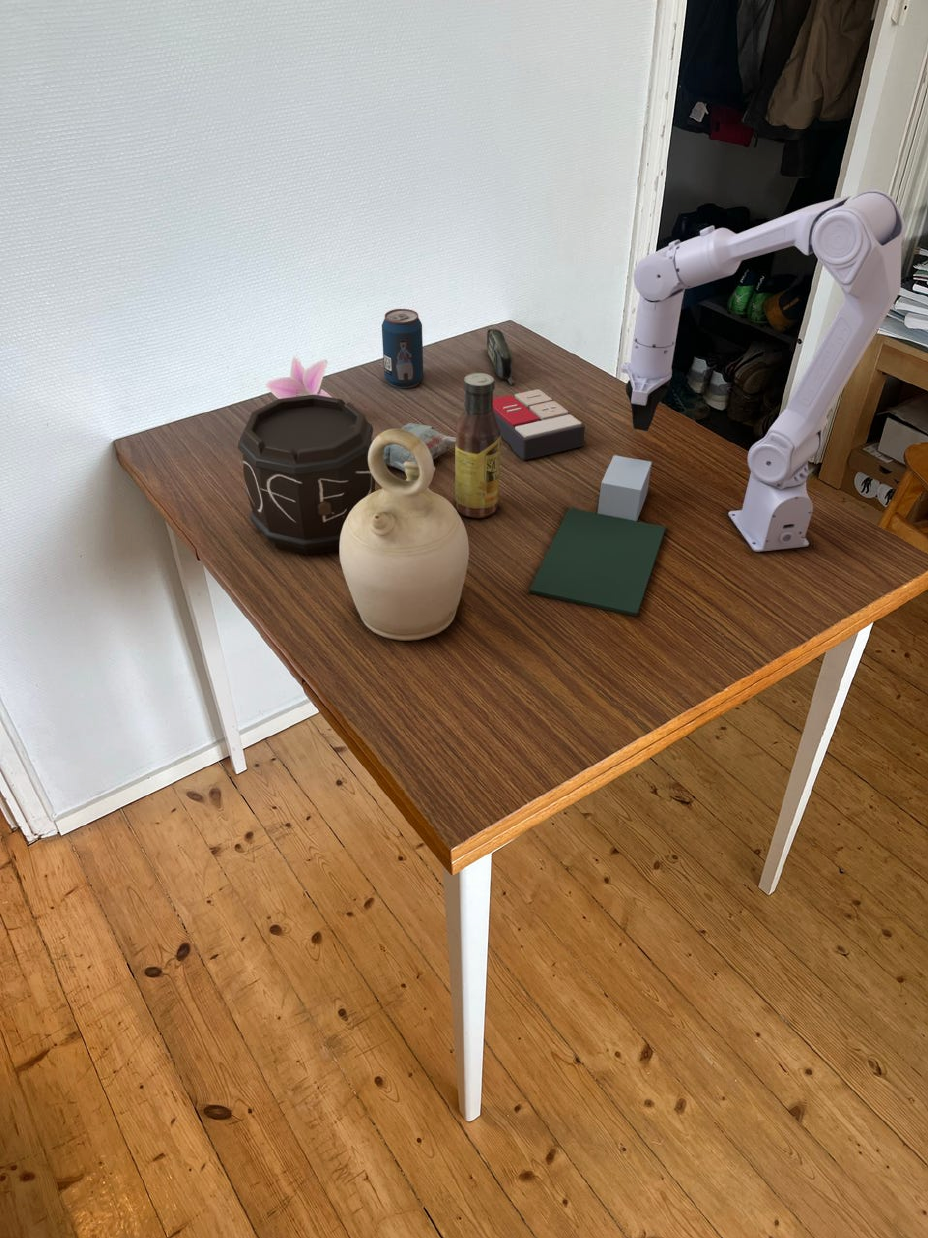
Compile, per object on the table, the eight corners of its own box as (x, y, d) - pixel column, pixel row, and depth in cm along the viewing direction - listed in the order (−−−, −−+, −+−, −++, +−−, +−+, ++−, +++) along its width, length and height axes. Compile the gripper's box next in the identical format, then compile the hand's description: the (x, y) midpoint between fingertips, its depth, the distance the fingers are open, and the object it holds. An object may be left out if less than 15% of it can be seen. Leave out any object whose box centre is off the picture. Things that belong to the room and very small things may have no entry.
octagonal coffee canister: (260, 571, 122) (242, 467, 112) (245, 499, 135) (228, 400, 125) (393, 549, 126) (387, 447, 116) (366, 481, 139) (359, 384, 129)
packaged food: (458, 454, 145) (458, 426, 142) (412, 487, 137) (411, 458, 134) (414, 438, 149) (412, 411, 146) (367, 470, 141) (364, 442, 138)
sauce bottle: (494, 522, 131) (498, 393, 118) (450, 517, 132) (450, 388, 119) (501, 498, 136) (506, 371, 123) (460, 493, 136) (460, 366, 124)
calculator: (540, 385, 155) (586, 421, 144) (539, 409, 158) (584, 446, 147) (481, 398, 151) (524, 435, 141) (481, 422, 154) (523, 460, 143)
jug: (402, 557, 124) (394, 385, 108) (493, 604, 117) (498, 427, 101) (320, 614, 115) (297, 436, 99) (412, 668, 108) (404, 485, 92)
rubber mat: (568, 511, 133) (568, 507, 133) (665, 530, 129) (665, 526, 129) (528, 592, 119) (529, 589, 118) (636, 617, 115) (637, 613, 115)
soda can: (407, 368, 168) (405, 303, 160) (431, 382, 164) (430, 316, 156) (376, 379, 165) (372, 313, 157) (399, 393, 161) (397, 326, 153)
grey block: (609, 487, 138) (613, 454, 134) (647, 494, 136) (652, 461, 133) (597, 515, 132) (601, 482, 128) (636, 523, 131) (641, 489, 127)
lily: (268, 411, 158) (247, 377, 149) (324, 372, 159) (307, 336, 150) (304, 457, 153) (285, 425, 144) (362, 416, 154) (346, 382, 145)
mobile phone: (484, 326, 171) (501, 359, 159) (500, 325, 171) (518, 358, 160) (484, 352, 174) (501, 386, 162) (500, 351, 174) (517, 385, 163)
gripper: (636, 315, 133) (625, 401, 142) (614, 356, 123) (603, 446, 131) (685, 322, 131) (670, 409, 140) (667, 364, 121) (652, 455, 130)
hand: (641, 427), depth 136 cm, fingers closed
